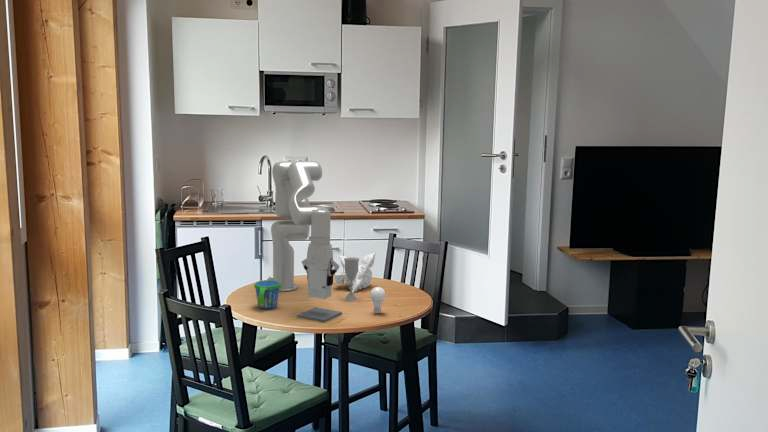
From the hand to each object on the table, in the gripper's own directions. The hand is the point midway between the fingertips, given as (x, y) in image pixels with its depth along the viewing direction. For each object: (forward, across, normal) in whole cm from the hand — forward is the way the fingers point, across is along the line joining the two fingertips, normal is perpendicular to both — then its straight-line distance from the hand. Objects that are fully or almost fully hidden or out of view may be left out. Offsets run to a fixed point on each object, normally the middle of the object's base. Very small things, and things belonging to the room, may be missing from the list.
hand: (320, 283), depth 262 cm
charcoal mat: (+13, 0, 0) cm, 13 cm away
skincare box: (+5, 0, 0) cm, 5 cm away
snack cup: (+13, -25, -1) cm, 28 cm away
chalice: (+13, -2, +28) cm, 31 cm away
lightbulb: (+13, +18, +15) cm, 27 cm away
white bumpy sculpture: (+13, -11, +47) cm, 50 cm away
